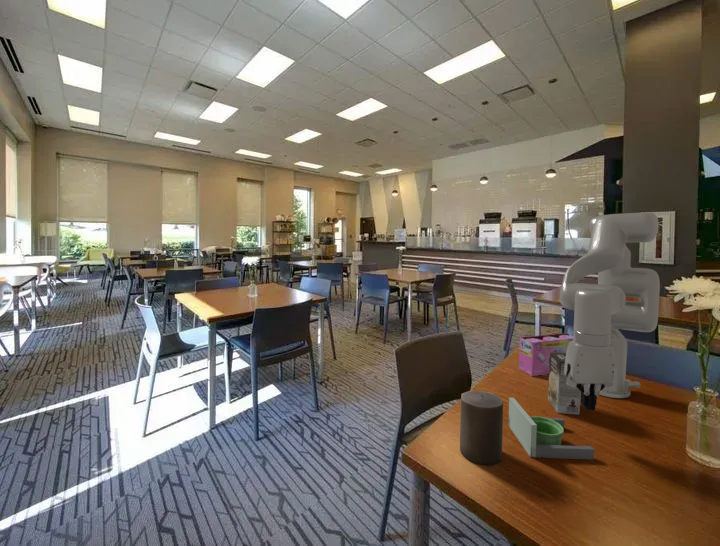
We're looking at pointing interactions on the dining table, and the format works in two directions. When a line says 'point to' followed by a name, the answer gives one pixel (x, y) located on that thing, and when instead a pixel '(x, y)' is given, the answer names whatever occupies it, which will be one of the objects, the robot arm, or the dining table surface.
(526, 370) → the gum box
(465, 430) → the pillar candle
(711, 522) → the dining table surface
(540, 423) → the ramekin
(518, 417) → the display stand
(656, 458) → the dining table surface
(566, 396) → the coffee box
